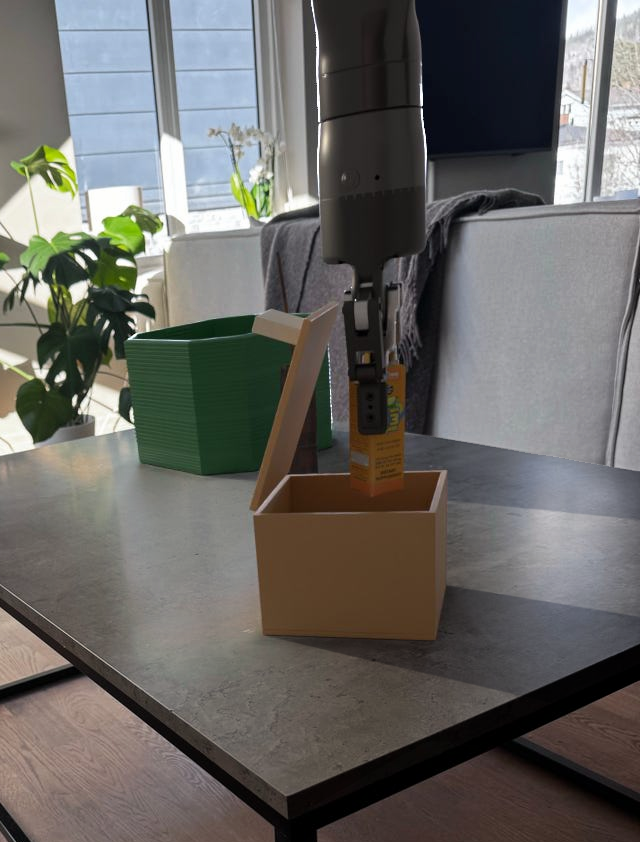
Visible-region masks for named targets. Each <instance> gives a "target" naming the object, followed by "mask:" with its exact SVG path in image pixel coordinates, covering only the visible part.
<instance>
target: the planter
mask: <svg viewBox="0 0 640 842" xmlns="http://www.w3.org/2000/svg"><path fill="white" fill-rule="evenodd" d="M288 313H289V312H288ZM313 313H314V312H301V313H300V312H299V313H297V312H296V313H293V312H292V313H289V314H291V315H294V316H298V317H301V318H306V317H308V316H309V315H311V314H313ZM260 314H261V313H251V314H243V315H233V316H224V317H215V318H209V319H204V320H199V321H193V322H189V323H184V324H183V323H182V324H178V325H173V326H170V327H168V326H167V327H163V328H158V329H154V330H148V331H143V332H137V333H135V334H133V335H132V336H130V337H129V338H127V339H126V340H124V341H123V345H124V346H123V348H124V353H125V354H124V357H125V361H126V362H125V364H126V369H127V370H126V372H127V375H128V378H127V380H128V385H129V386H128V387H129V392H130V394H129V395H130V396H131V397H130V400H131V401H130V403H131V408H132V416H133V424H134V425H133V427H134V431H135V432H134V434H135V435H136V436H135V442H136V444H137V445H136V446H137V453H138V454H137V455H138V461H139V462H140V463H141V464H147V465H152V466H155V467H156V466H157V467H160V468H166V469H170V470H175V471H181V472H185V473H189V474H194V475H200V476H208V475H209V476H210V475H222V474H235V473H247V472H249V473H250V472H255V471H258V470H260V469H261V466H262V462H263V459H264V455H265V452H266V448H267V445H268V441H269V438H270V435H271V431H272V428H273V424H274V421H275V417H276V414H277V410H278V407H279V403H280V400H281V397H280V386H281V382H280V377H281V366H287V365H291V361H292V359H291V352H290V346H289V343H287V342H284V341H280V340H277V339H274V338H270V337H267V336H264V335H260V334H257V333H254V332H252V328H253V324H254V321H255V317H256V316H258V315H260ZM329 342H330V341H329ZM329 342H328V345H327V348H326V352H325V355H324V358H323V362H322V365H321V368H320V372H319V375H318V378H317V381H316V407H317V410H316V413H317V443H318V448H317V451H318V452H319V451H323V450H327V449H329V448H332V447H333V445H334V444H333V443H334V442H333V440H334V439H333V412H332V411H333V409H332V408H333V407H332V387H331V386H332V385H331V384H332V383H331V362H330V343H329ZM293 347H294V351H295V347H296V345H294V346H293Z"/></svg>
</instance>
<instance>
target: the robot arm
mask: <svg viewBox="0 0 640 842" xmlns="http://www.w3.org/2000/svg"><path fill="white" fill-rule="evenodd" d="M415 1H416V0H311V7H312V13H313V18H314V19H313V20H314V24H315V32H316V33H315V34H316V47H317V48H316V83H317V84H316V85H317V107H318V108H317V109H318V122H319V124H318V144H317V154H316V155H317V158H316V159H317V160H316V164H317V165H316V168H317V169H316V170H317V189H318V191H317V192H318V207H319V208H318V210H319V230H320V231H319V232H320V233H319V234H320V252H321V253H320V254H321V260H322V261H323V262H324V264H326V265H332V266H334V265H335V266H336V265H349V266H350V267H351V270H352V271H351V287H350V288H349V289H347V290H344V292H343V304H342V306H341V314H342V316H343V324H344V336H345V347H346V356H347V367H348V368H347V377H348V380H349V379H350V381H354V386H357V415H358V431H359V433H360V434H361V435H381V434H384V433H385V432H386V431H387V429H388V386H387V384H388V379H390V372H388V364H389V362H394V363H398V364H400V357H401V355H402V347H401V341H402V337H403V333H404V332H403V331H404V330H403V312H402V311H403V310H402V308H403V305H404V301H405V285H404V283H405V282H404V281H397V282H396V272H395V271H396V270H395V262H394V261H395V259H401V258H406V257H411V256H416V255H420V254H421V253H423V251H424V250H425V249H426V247H427V143H426V142H427V141H426V133H425V128H424V120H423V119H424V117H423V108H422V106H423V68H422V67H423V63H422V62H423V61H422V60H423V57H422V40H421V32H420V25H419V20H418V17H417V13H416V2H415ZM363 359H364V361H363ZM373 362H376V363H373Z"/></svg>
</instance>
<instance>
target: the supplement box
mask: <svg viewBox="0 0 640 842" xmlns="http://www.w3.org/2000/svg"><path fill="white" fill-rule="evenodd" d="M373 363H376V362H373ZM406 371H407V369H406V366H405V364H401V363H399V364H398V363H394V362H389V364H388V372H390V379H388V384H387V386H388V429H387V431H386V432H385V433H384V434H381V435H361V434H360V433H359V431H358V415H357V386H354V381H350V379H349V378H348V408H349V409H348V421H349V422H348V426H349V427H348V428H349V430H348V431H349V432H348V433H349V435H348V436H349V437H348V438H349V473H350V488H351V489H352V490H354V491H356V492H358V493H361V494H364V495H367V496H370V497H375V496H379V495H383V494H387V493H391V492H395V491H399V490H403V477H404V471H405V469H404V468H405V433H406V431H405V428H406V427H405V426H406V424H405V423H406V422H405V420H406V378H407V377H406V375H407V374H406Z"/></svg>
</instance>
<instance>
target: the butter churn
mask: <svg viewBox="0 0 640 842" xmlns="http://www.w3.org/2000/svg"><path fill="white" fill-rule="evenodd" d="M275 259H276V266H277V271H278V277H279V284H280V291H281V295H282V302H283V310H284V313H287V314H289V307H288V306H289V305H288V300H287V291H286V285H285V278H284V273H283V267H282V266H283V265H282V260H281V259H282V257H281V253H280V251H276V252H275ZM289 346H290V352H291V359H292V358H293V354H294V347H293V346H294V345H293V344H290V343H289ZM289 368H290V365H287V366H281V377H280V382H281V386H280V397H281V396H282V393H283V389H284V386H285V382H286V379H287V375H288V372H289ZM316 410H317V407H316V385H315V388H314V391H313V395H312V398H311V401H310V404H309V408H308V411H307V414H306V418H305V421H304V424H303V427H302V431H301V434H300V437H299V441H298V444H297V447H296V451H295V454H294V457H293V460H292V464H291V467H290V470H289V472H288V474H287V475H300V474H319V451H317V448H318V443H317V413H316Z"/></svg>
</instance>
